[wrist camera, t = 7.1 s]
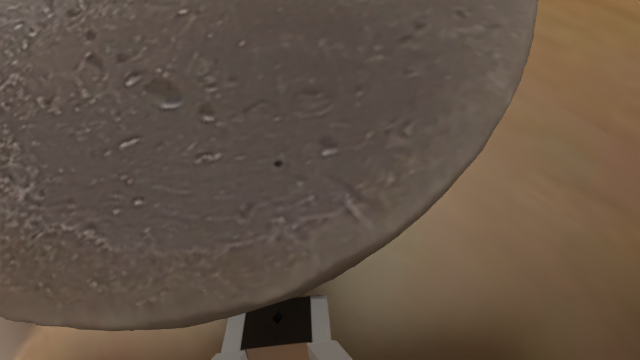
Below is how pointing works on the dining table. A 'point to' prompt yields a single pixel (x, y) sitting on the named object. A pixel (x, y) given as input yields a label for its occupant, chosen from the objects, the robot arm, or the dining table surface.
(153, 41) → the pillar candle
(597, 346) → the dining table surface
